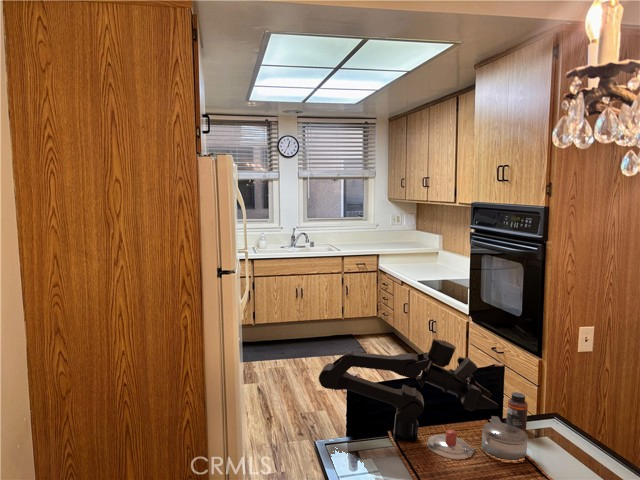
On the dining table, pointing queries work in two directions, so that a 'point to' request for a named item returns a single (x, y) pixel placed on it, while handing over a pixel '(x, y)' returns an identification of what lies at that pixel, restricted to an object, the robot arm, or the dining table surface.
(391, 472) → the dining table surface
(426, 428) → the dining table surface
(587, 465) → the dining table surface
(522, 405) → the supplement bottle
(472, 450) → the lid
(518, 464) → the dining table surface
